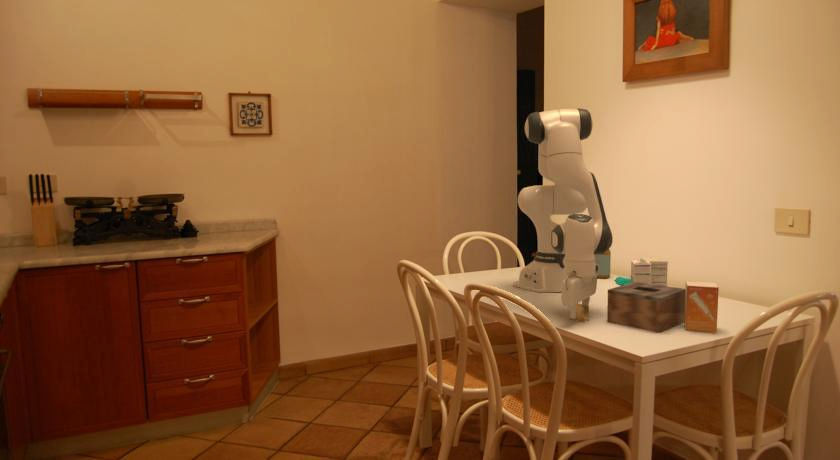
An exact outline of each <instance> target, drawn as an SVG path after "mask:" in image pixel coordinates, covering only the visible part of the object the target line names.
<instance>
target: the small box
mask: <svg viewBox="0 0 840 460" xmlns="http://www.w3.org/2000/svg"><path fill="white" fill-rule="evenodd" d="M684 289H685V312H684V323H683V325H684V330H685V331H691V332H703V333H712V334H717V330H718V315H719V312H718V311H719V294H720V293H719V291H720V290H719V289H720V287H719V286H718V283H717V282H706V281H705V282H704V281H685V288H684Z"/></svg>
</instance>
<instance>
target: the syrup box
mask: <svg viewBox="0 0 840 460" xmlns="http://www.w3.org/2000/svg"><path fill="white" fill-rule="evenodd" d="M630 264H631V265H630V279H631V283H632V282H641V283H648V284H651V263H650V262H649V261H647V260H640V259H638V260H637V259H634V260H633V259H632V260H631V261H630Z"/></svg>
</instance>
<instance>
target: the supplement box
mask: <svg viewBox="0 0 840 460" xmlns="http://www.w3.org/2000/svg"><path fill="white" fill-rule="evenodd" d="M639 260H647V261H649V262H650V263H651V284H655V285H662V286H668V266H669V264H668V263H669V262H668V261H667V260H665V259H663V258H661V257H640V258H639Z"/></svg>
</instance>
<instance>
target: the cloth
mask: <svg viewBox="0 0 840 460" xmlns="http://www.w3.org/2000/svg"><path fill="white" fill-rule="evenodd" d="M613 281H614V282H615V284H617V285H619V286H622V285H625V284H628V283H631V278H630V277H629V278H627V277H624V276H623V277H622V276H617V277H616V278H615V279H614V280H613Z"/></svg>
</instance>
